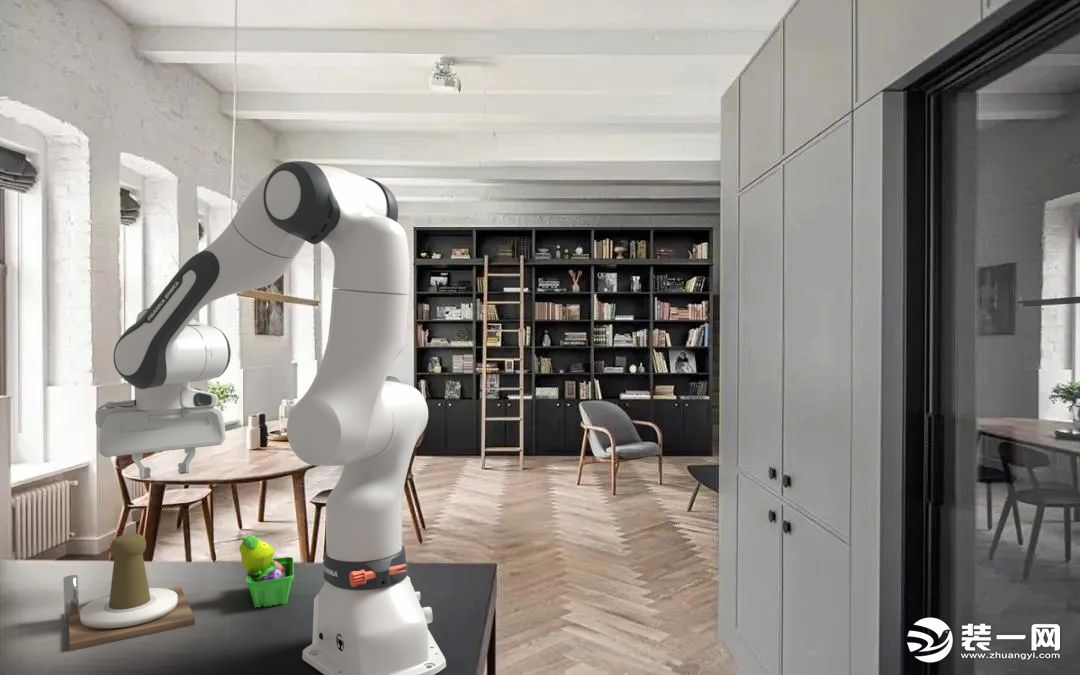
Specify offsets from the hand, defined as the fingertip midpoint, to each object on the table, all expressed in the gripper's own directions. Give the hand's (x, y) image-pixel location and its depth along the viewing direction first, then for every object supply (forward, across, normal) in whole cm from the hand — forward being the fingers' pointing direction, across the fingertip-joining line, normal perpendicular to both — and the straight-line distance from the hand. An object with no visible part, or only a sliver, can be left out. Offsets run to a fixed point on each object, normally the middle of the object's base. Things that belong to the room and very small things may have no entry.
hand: (164, 475), depth 133 cm
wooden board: (+21, -7, -8) cm, 24 cm away
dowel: (+21, -15, -3) cm, 26 cm away
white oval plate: (+20, -7, -6) cm, 22 cm away
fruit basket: (+21, +14, -13) cm, 29 cm away
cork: (+19, -7, -8) cm, 22 cm away
